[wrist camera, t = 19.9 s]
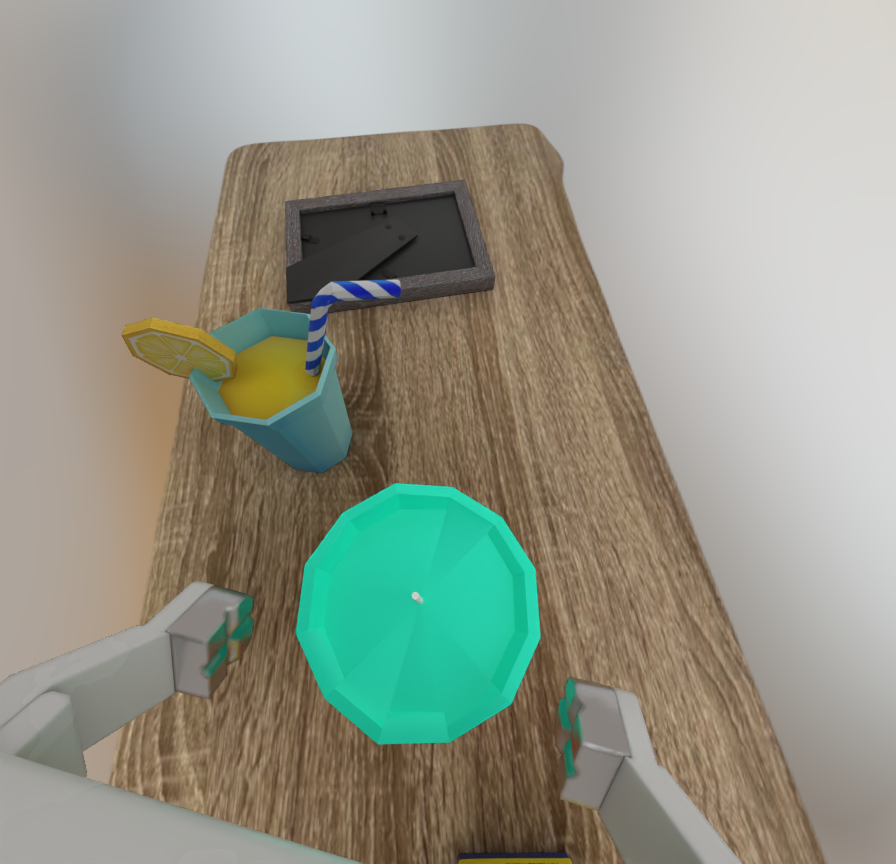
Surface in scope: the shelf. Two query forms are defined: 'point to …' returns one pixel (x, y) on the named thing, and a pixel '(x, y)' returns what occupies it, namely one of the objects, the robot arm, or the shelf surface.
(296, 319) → the cup
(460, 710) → the candle
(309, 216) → the picture frame
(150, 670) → the robot arm
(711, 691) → the shelf surface
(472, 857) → the supplement box
